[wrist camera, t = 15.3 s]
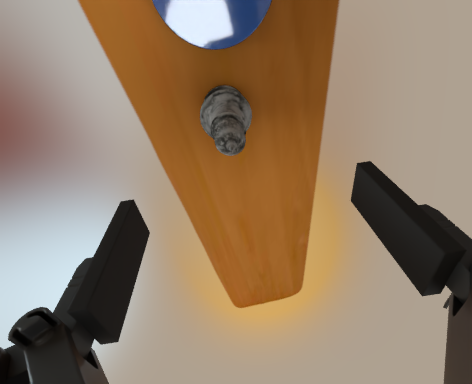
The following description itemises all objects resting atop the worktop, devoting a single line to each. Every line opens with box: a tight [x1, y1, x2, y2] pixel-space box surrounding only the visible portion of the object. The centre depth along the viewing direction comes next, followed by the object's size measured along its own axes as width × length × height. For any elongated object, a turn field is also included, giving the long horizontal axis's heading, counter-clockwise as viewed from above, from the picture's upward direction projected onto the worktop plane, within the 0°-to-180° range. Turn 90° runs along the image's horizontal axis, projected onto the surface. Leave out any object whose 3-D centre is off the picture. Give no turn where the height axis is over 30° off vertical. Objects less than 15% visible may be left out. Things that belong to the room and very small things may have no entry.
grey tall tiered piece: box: [200, 85, 252, 156], centre depth 26 cm, size 6×6×12 cm
